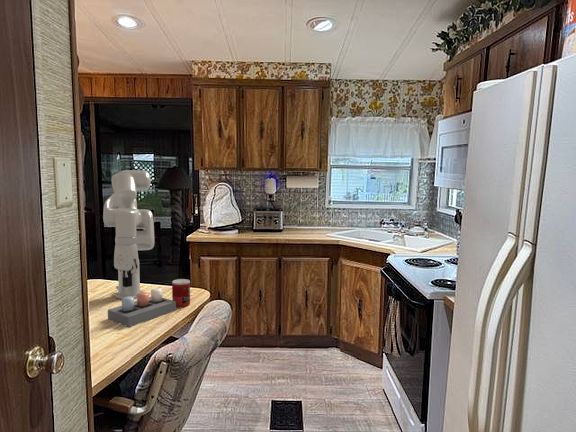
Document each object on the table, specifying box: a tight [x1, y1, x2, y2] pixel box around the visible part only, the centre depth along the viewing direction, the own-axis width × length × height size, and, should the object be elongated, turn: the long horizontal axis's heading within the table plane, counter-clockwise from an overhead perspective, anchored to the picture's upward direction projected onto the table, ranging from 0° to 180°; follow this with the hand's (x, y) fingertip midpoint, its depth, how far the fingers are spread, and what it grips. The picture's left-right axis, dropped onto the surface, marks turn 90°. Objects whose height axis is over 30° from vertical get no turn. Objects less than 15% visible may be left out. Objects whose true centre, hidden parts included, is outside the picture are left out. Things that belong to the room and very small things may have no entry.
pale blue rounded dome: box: [121, 296, 135, 311], centre depth 154 cm, size 5×5×4 cm
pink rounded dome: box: [136, 291, 150, 306], centre depth 160 cm, size 5×5×4 cm
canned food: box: [171, 278, 191, 308], centre depth 174 cm, size 8×8×11 cm
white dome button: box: [150, 287, 163, 302], centre depth 166 cm, size 5×5×4 cm
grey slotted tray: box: [107, 296, 177, 328], centre depth 161 cm, size 14×23×4 cm, turn 147°
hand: (127, 286), depth 153 cm, fingers closed
